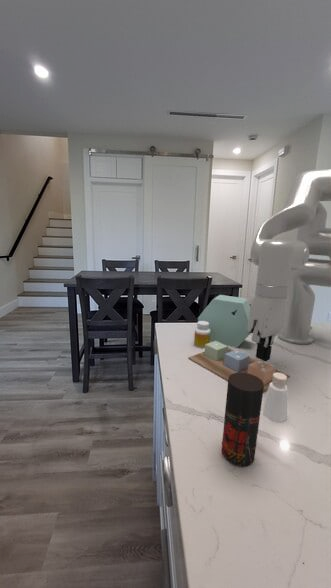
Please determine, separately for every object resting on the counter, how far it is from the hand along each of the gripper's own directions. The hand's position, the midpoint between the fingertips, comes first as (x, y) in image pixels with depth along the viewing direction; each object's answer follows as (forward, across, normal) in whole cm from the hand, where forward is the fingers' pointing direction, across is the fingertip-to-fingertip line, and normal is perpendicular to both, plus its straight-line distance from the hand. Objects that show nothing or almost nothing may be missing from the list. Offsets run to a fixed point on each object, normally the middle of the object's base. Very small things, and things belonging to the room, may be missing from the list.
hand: (262, 358), depth 70 cm
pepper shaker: (+8, +10, +10) cm, 16 cm away
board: (+8, 0, -8) cm, 11 cm away
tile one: (+6, 0, -16) cm, 17 cm away
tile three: (+6, 0, 0) cm, 6 cm away
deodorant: (+8, +24, +11) cm, 27 cm away
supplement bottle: (+8, -3, -25) cm, 27 cm away
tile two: (+6, 0, -8) cm, 10 cm away
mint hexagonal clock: (+8, -13, -23) cm, 28 cm away
